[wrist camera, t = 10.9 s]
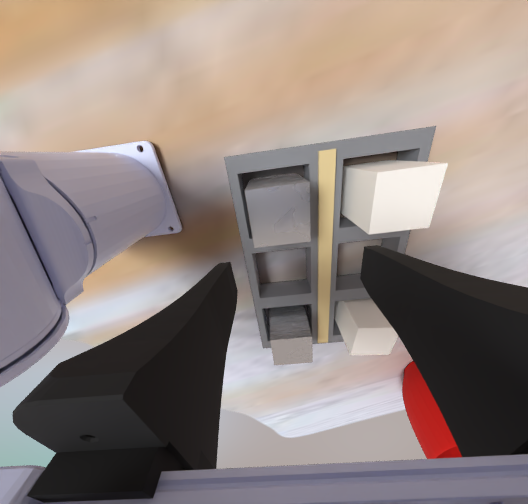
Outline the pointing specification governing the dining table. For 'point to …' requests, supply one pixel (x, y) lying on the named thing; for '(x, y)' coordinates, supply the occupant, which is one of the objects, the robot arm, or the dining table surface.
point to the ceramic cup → (427, 417)
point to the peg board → (319, 225)
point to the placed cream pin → (391, 194)
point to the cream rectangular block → (364, 327)
